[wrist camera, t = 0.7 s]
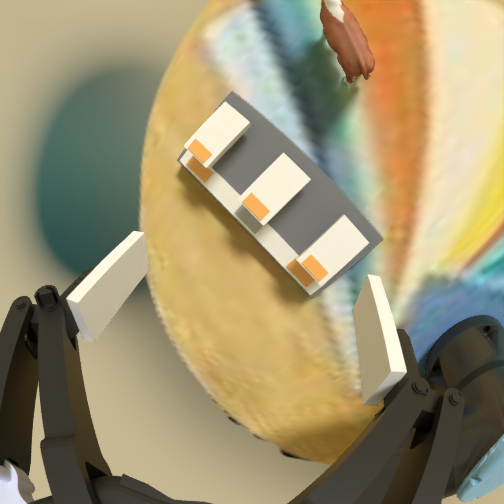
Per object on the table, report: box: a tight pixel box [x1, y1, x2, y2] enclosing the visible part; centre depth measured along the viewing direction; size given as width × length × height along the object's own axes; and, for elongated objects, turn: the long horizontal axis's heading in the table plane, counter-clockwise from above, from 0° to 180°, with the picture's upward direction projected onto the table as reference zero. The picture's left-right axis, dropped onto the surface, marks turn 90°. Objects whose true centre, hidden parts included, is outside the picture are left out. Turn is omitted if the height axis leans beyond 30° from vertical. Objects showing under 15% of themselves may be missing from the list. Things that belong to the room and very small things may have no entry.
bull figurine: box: [320, 0, 375, 85], centre depth 21 cm, size 4×13×8 cm, turn 8°
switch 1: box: [184, 101, 252, 169], centre depth 29 cm, size 4×7×1 cm, turn 136°
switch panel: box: [177, 91, 383, 299], centre depth 32 cm, size 25×12×4 cm, turn 45°
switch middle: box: [238, 153, 311, 226], centre depth 29 cm, size 4×7×1 cm, turn 136°
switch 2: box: [296, 214, 369, 286], centre depth 29 cm, size 4×7×1 cm, turn 136°
